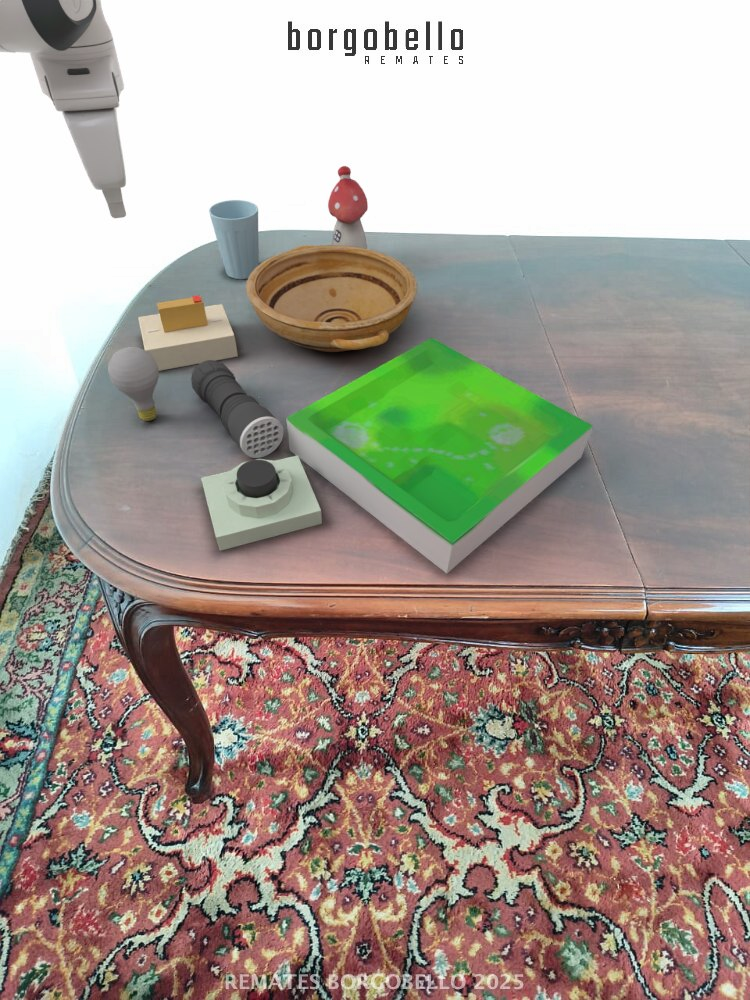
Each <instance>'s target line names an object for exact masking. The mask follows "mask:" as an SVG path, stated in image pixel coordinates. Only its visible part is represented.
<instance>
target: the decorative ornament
mask: <svg viewBox="0 0 750 1000" xmlns="http://www.w3.org/2000/svg"><path fill="white" fill-rule="evenodd" d="M351 173H352V171H351V168H350V167H349V166H346V165H343V166H341V167H339V168H338V170H337V175H338V177H339V181H337V183H336V184H335V185H334V187H333V188H332V189H331V192H330V195H329V199H328V201H327V209H328V212H329V214H330V216H332V217H333V218H335V219H336V221H335V225H334V228H333V235H332V243H331V245H341V246H352V247H360V248H365V249H368V243H367V237H366V233H365V229H364V226H363V224H362V221H361V219H362V217H364V215H365V214H366V212H367V211H368V208H369V206H368V205H369V203H368V198H367V195H366V193H365V191H364V189H363V187H361V185H360V184H359V183H358V182H357V180H356V179H352V178H351Z"/></svg>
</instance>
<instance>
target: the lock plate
mask: <svg viewBox="0 0 750 1000" xmlns="http://www.w3.org/2000/svg"><path fill="white" fill-rule="evenodd" d="M204 308H205V313H206V318H207V323H208V325H205V326H199V327H193V328H187V329H181V330H175V331H169V332H164V329H163V325H162V322H161V318H160V314H159V313H155V314H149V315H148V314H147V315H143V316H138V324H139V327H140V328H139V329H140V334H141V338H142V343H143V348H144V350H145V351H147V352H148V353H149V354H150V355H151V356H152V357H153V358H154V360H155V361H156V363H157V366H158V369H159V372H161V371H165V370H171V369H178V368H183V367H188V366H194V365H199V364H200V363H202V362H204V361H207V360H214V361H222V360H226V359H231V358H236V357H237V358H238V357H239V354H238V349H237V347H238V346H237V342H236V336H235V333H234V330H233V328H232V326H231V323H230V319H229V318H228V315H227V313H226V310H225V308H224V305H223V303H218V304H212V305H207V306H206V305H204Z"/></svg>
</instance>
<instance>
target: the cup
mask: <svg viewBox="0 0 750 1000" xmlns="http://www.w3.org/2000/svg"><path fill="white" fill-rule="evenodd" d="M208 212H209V216H210V220H211V224H212V227H213V231H214V234H215V238H216V241H217V244H218V248H219V252H220V256H221V259H222V262H223V266H224V270H225V273H226V275H227V276H228V277H230V278H232V279H235V280H248V278H249V275H250V274H251V273H252V272H253V270H254V269H255V268H256V267H257V266H259V265H260V264H259V263H260V260H259V259H260V258H259V257H260V255H259V254H260V251H259V243H260V242H259V207H258V205H257V204H255V203H254V202H251V201H247V200H241V199H230V200H228V199H227V200H223V201H219V202H216V203H214V204H212V205H211V206H210V207H209V209H208Z"/></svg>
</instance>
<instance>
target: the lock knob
mask: <svg viewBox="0 0 750 1000" xmlns="http://www.w3.org/2000/svg"><path fill="white" fill-rule="evenodd" d="M203 300H204V299H203V297H202V295H198V294H197V295H192V297H187V298H179V299H173V300H167V301H160V302H156V306H157V311H158V314H160V318H161V322H162V325H163V329H164V332H169V331H175V330H181V329H187V328H193V327H199V326H205V325H208V323H207V318H206V313H205V308H204V307H205V304H204V301H203Z"/></svg>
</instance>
